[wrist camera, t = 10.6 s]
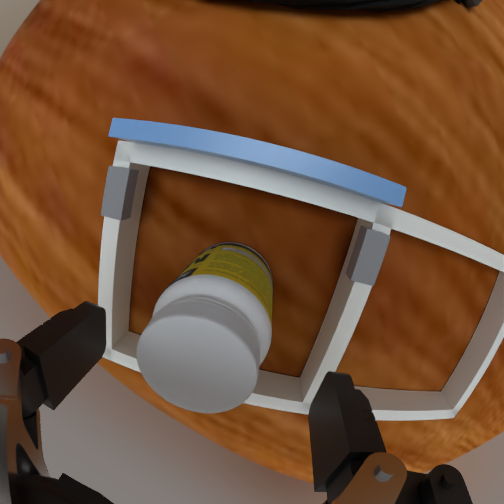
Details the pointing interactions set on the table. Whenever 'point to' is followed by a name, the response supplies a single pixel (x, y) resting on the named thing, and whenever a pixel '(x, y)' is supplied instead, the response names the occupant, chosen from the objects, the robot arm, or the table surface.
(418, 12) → the table surface
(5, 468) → the robot arm
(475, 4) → the cable lock
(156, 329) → the supplement bottle
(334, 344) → the two-slot divided caddy
